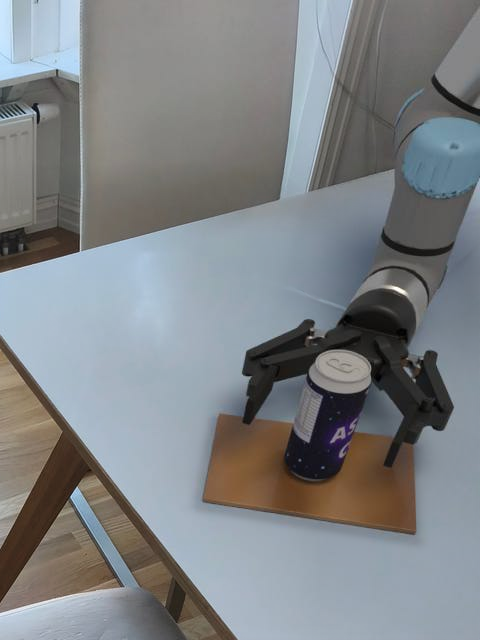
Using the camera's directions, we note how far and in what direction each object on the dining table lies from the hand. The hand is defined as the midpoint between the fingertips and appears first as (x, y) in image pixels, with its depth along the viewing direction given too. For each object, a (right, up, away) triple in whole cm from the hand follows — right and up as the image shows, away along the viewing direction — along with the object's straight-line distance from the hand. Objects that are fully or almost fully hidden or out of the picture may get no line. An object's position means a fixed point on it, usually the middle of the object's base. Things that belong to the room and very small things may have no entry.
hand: (317, 433), depth 82 cm
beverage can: (+2, -2, +7) cm, 8 cm away
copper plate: (+2, -2, +7) cm, 8 cm away
